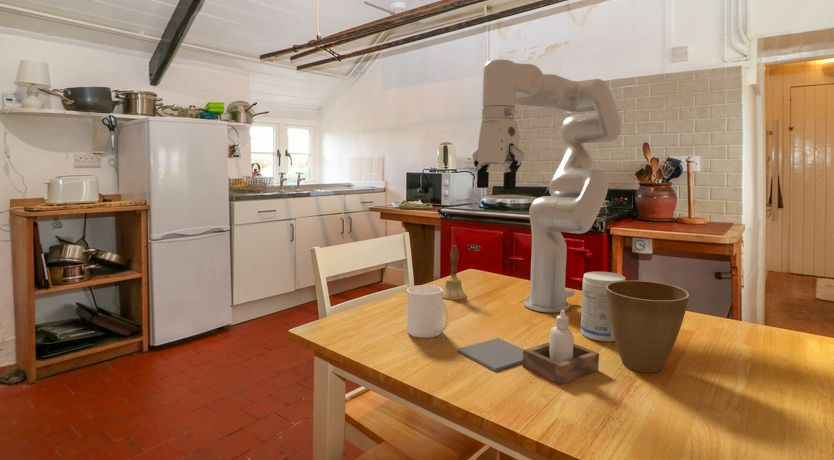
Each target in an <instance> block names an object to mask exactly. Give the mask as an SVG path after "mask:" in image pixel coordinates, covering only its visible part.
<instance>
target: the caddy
mask: <svg viewBox="0 0 834 460" xmlns="http://www.w3.org/2000/svg"><path fill="white" fill-rule="evenodd" d="M549 348H550V341H549V342H546V343H543V344H538V345H536V346H532V347H528V348H526V349H524V350H523V363H522V367H523V368H525V369H527V370H528V371H530V372H531V371H532V372H533V373H535V374H537V375H539V376H542V377H543V378H545V379H548V380H550V381H551V382H554V383H556V384H557V385H563V384H565V383H568V382H570V381H573V380H575V379H577V378H581V377H584V376H586V375H589V374H591V373H595V372H596V371H599V365H600V364H599V363H600V362H599V361H600V352H596V351H594V350H591V349H589V348H586V347H583V346H581V345H579V344H576V343H575V342H574V343H573V359H570V360H567V361H564V362H561V363H559V362H557V361H554V360H552V359H550V358H549Z"/></svg>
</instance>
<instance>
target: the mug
mask: <svg viewBox="0 0 834 460" xmlns="http://www.w3.org/2000/svg"><path fill="white" fill-rule="evenodd" d="M443 290H444V288H442V287H440V286H438V285H429V284H422V285H421V284H419V285H412V286H409V287H408V288H406V329H407V330H406V331H407V333H408V335H410V336H412V337H414V338H419V339H429V338H430V339H431V338H432V339H433V338H435V337H438V336H440V335H441V334H442V332H445V330H446V329H447V327H448V326H449V311H448V308H447V305H446V303H444V300H443V299H444V298H443ZM443 312H444V315H445V317H446V321H445V324H444V325H443Z"/></svg>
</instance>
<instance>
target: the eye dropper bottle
mask: <svg viewBox="0 0 834 460" xmlns="http://www.w3.org/2000/svg"><path fill="white" fill-rule="evenodd" d="M559 313H560V314H559V315H557V316H555V326H552V327H551V329H550V332H549V333H550V335H549V342H550V348H549V358H550V359H552V360H554V361H557V362H559V363H561V362H564V361H567V360H570V359H573V343H574V344H575V342H574V341H575V339H574V335H573V333H572V331H571V330H570V328H569V324H570V317H569V316H568V315H566V311H565V310H561V312H559Z"/></svg>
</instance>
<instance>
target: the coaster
mask: <svg viewBox="0 0 834 460" xmlns="http://www.w3.org/2000/svg"><path fill="white" fill-rule="evenodd" d="M523 350H525V349H524V348H522V347H520V346H517V345H515V344H513V343H510V342H508V341H506V340H504V339H501V338H498V337H496V338H493V339H489V340H486V341H485V340H484V341H482V342H478V343H474V344H471V345H466V346H463V347H460V348H457V349H456V352H457V353H460V354H461V355H463V356H464V357H467V358H469V359H471V360H473V361H475V363H478V364H480V365H481V366H484V367H486V368H488V369H490V370H491V371H494V372H498V371H501V370H504V369H507V368H510V367H514V366H517V365H521V364H523Z"/></svg>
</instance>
